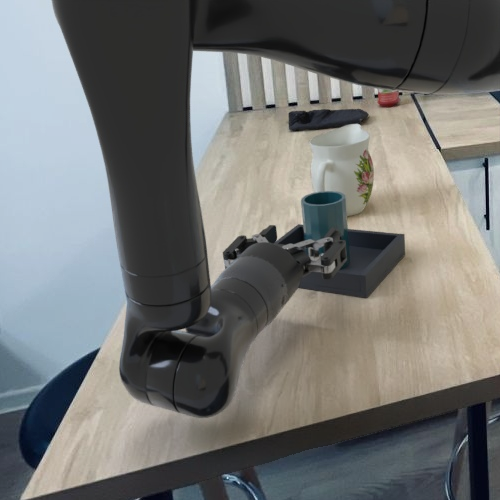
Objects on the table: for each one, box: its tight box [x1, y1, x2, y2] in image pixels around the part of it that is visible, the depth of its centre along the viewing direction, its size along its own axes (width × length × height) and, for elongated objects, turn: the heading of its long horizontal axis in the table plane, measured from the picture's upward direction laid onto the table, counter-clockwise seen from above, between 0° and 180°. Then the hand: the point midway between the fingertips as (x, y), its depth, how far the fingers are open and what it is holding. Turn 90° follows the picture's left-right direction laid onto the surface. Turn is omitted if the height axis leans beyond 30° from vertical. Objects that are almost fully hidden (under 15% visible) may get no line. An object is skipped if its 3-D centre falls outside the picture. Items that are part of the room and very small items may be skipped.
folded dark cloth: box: [287, 108, 370, 132], centre depth 184 cm, size 15×22×5 cm
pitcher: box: [309, 123, 375, 217], centre depth 114 cm, size 11×18×14 cm, turn 151°
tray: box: [274, 223, 406, 299], centre depth 96 cm, size 18×15×3 cm
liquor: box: [376, 89, 401, 108], centre depth 192 cm, size 7×7×28 cm
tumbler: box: [300, 191, 350, 270], centre depth 94 cm, size 6×6×10 cm
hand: (304, 233), depth 85 cm, fingers open, 8 cm apart
